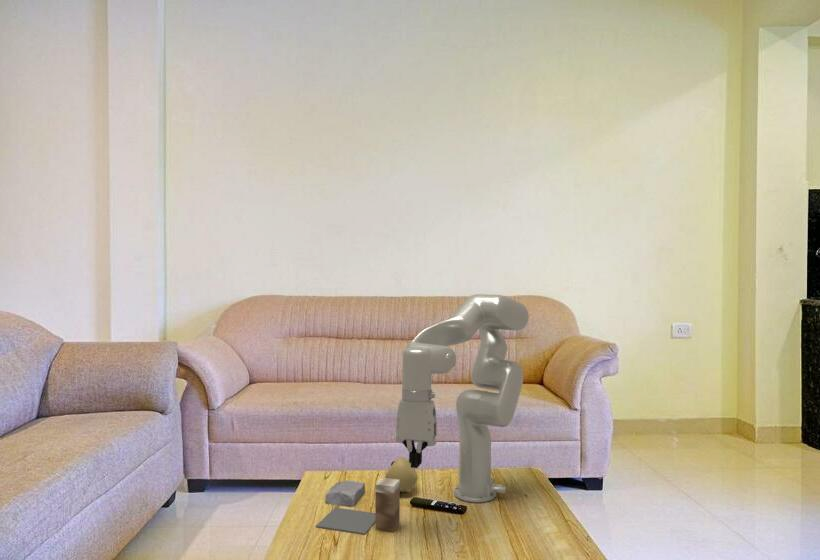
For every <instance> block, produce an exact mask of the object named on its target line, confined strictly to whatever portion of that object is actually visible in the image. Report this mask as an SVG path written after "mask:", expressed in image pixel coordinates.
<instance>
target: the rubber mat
mask: <svg viewBox="0 0 820 560" xmlns="http://www.w3.org/2000/svg"><path fill="white" fill-rule="evenodd" d="M374 524H375V512H370V511H363V510H356V509H348V508H341V507H334V508H333V509H332V510H330V511H329V512H328V513H327V514H326V516H324V517H323V518H322V519H321V520H320V521H319V522H318V523H316V525H315V528H318V529H326V530H332V531H339V532H345V533H352V534H355V535H356V534H357V535H364V536H365V535H367V534H368V532H369V531H370V530H371V528H372V527H373V526H374Z"/></svg>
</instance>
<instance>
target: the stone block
mask: <svg viewBox="0 0 820 560" xmlns="http://www.w3.org/2000/svg"><path fill="white" fill-rule="evenodd" d="M364 493H366V484H365V482H360V481H355V480H345V481H338V482H336V483H335V484H334V485H332V486H331V487H330V489H329V490H328V491H327V492H326V494H325V502H326V503H327V505H330V504H331V506H337V505H338V506H339V507H341V506H344V507H354V506H356V505H357V503H358V502H359V500H360V499H361V498H362V497H363V495H364ZM357 501H358V502H357ZM338 506H337V507H338Z"/></svg>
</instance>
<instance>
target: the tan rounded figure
mask: <svg viewBox="0 0 820 560" xmlns="http://www.w3.org/2000/svg"><path fill="white" fill-rule="evenodd" d="M384 478H390V479H398V480H400V493H402V492H407V493H411V492H412V491H413V489H414V487H415V486H416V483H417V482H418V473H417V471H416V468H414V467H413V468H411V463H409V459H407V458H405V457H404V456H399V457H398V458H397V459H395V460H393V461H391V463H390V467H389V468H388V470H387V472H386V474H385V476H384Z"/></svg>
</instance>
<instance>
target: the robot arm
mask: <svg viewBox="0 0 820 560" xmlns="http://www.w3.org/2000/svg"><path fill="white" fill-rule="evenodd" d="M529 317H530V315H529V311H528V309H527V307H526V306H525V304H523V303H521V302H520V301H516V300H515V299H513V298H510V297H508V296H505V295H501V294H485V293H484V294H482V293H479V294H473V295H469V296H468V297H467V298H466V299H465V300H464V301H463V303H461V304H460V305H459V307H458V308H457V309H456V311H454V312H453V313H452V315H451V316H450V317H449V318H447V319H444V320H441V321H439V322H437V323H436V324H434V325H431V326H428V327H426V328H425V329H423V330H422V331H420V332H419V333H418V334H417V335H416V336H415V337H414V338H413V339H412V340H411V342H410V343H409V344H408V345H407V347H405V348H404V350H403V352H402V369H401V371H402V373H401V377H402V381H401V382H402V383H401V386H402V387H401V399H400V400H399V402H398V407H397V412H396V420H395V421H396V422H395V436H396V437H395V442H397V443H399V444H402V445H403V446H405V448H406V449H407V452H408V458H409V463H411V468H413V467H414V468H415V469H418V468H419V467H420V466H421V465H422V464H423V463H422V462H423V451H424V450H425V449H426V448H428V447H434V446H435V445H436V444H437V439H436V437H437V435H438V425H437V412H436V405H435V400H432V399H436V398H437V392H434V391H433V389H432V375H435V374H436V375H437V374H439V375H440V374H441V375H444V374H447V373H449V372H451V371H452V370H453V369H454V367H455V366H456V363H457V355H456V353H455V351H454V350H453V349H452V348H451V346H455V345H460V344H463V343H466V342H468V341H470V340H471V339H472V338H473V337H474V336H475V334H476V333H477V332H478V331H479V335H480V346H479V348H478V351H477V355H476V358H475V360H474V364H473V367H472V371H471V375H470V376H471V377H470V380H471V382H472V384H473V385H474V386H475V387H477V388H480V389H484V390H480V389H472V388H471V389H465V390H463V391H461V392H460V393H459V395H458V396H457V398H456V402H455V408H456V415H457V419H458V429H459V430H458V431H459V447H458V448H459V451H458V452H459V455H458V456H459V457H458V459H459V463H458V464H459V465H458V466H459V467H458V469H459V471H458V474H459V475H458V476H459V477H458V483H459V484H458V485H456V486H455V488H454V489H453V490H454V491H453V493H454V496H455V497H456V498H457V499H459V500H461V501H465V502H470V503H487V502H490V501H492V500H494V499H495V498H497V497H496V496H497V493H498V494H502V495H503V494H506V491H507V490H506V489H507V487H506V486H504V485H503V484H502V483H496V482H494V478H493V477H492V435H491V431H490V430H489V427H488V426H492V427H498V428H505V427H507V426H509V425H511V423H512V421H513V418H514V415H515V413H516V409H517V406H518V405H517V404H518V402H519V400H520V394H521V392H522V389H523V388H522V387H523V385H524V384H523V383H524V371H523V368H522V366H521V365H520V364H519V362H517V361H515V360H514V361H513V360H511V359H510V360H508V359H506V356H507V351H508V344H507V342H506V340H505V337H504V336H503V334H502V333H501V330H503V331H522V330H524V329H525V328H526V327H527V325H528V323H529V320H530V319H529ZM449 346H450V347H449ZM485 390H491V391H492V392H491V391H485ZM493 391H497V392H493ZM416 441H417V444H415V442H416Z"/></svg>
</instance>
